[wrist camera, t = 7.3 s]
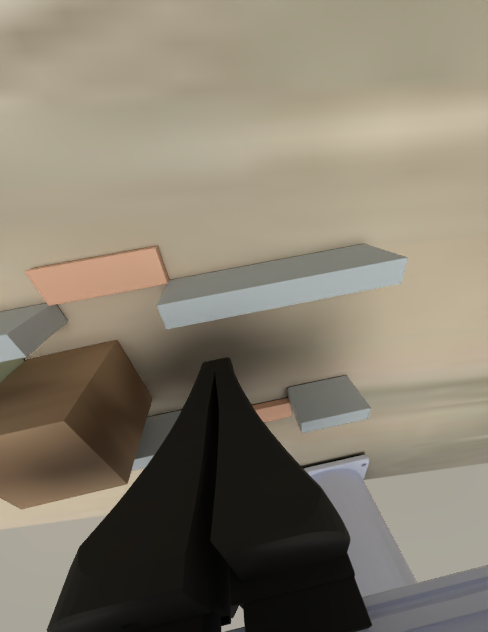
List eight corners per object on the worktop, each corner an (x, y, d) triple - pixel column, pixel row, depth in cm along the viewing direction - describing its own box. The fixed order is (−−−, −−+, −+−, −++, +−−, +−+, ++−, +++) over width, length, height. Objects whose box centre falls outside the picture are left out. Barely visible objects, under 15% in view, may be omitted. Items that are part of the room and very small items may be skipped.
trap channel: (343, 399, 15) (364, 433, 13) (91, 454, 15) (70, 498, 12) (369, 207, 9) (419, 211, 7) (-73, 287, 8) (-173, 319, 6)
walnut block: (152, 397, 13) (127, 484, 9) (79, 414, 13) (20, 509, 9) (117, 338, 11) (63, 420, 7) (27, 358, 11) (-81, 454, 7)
